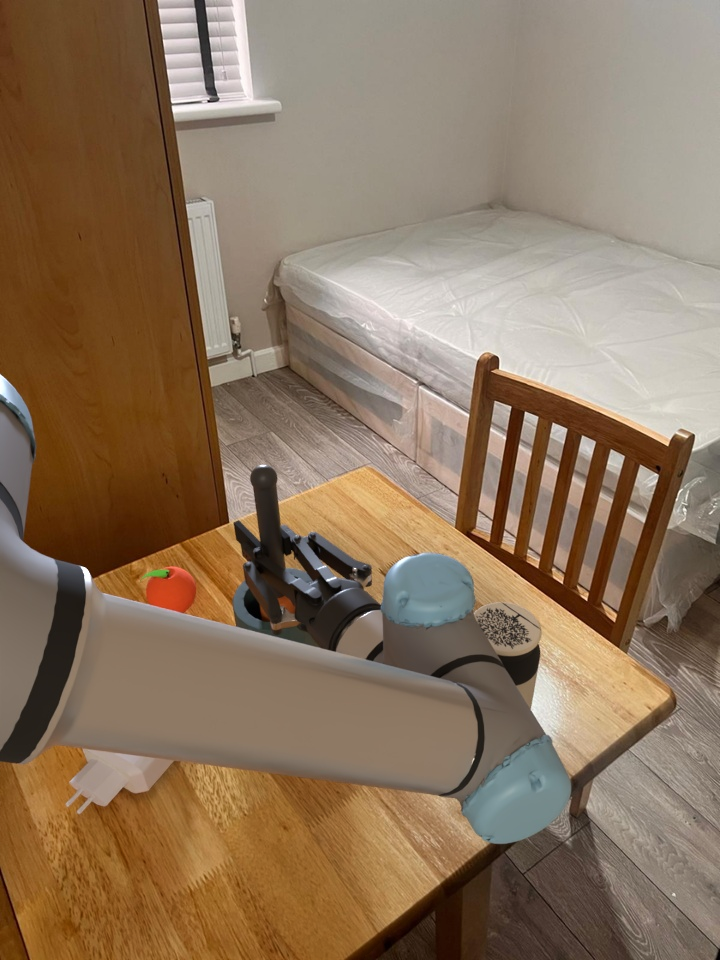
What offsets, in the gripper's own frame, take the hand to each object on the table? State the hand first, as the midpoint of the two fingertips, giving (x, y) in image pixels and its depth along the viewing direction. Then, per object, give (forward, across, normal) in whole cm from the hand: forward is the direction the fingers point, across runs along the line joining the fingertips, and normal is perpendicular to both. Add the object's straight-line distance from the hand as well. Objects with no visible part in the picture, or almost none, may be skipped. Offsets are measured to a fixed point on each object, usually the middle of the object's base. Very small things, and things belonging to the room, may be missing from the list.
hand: (249, 524), depth 90 cm
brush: (-5, 0, -14) cm, 15 cm away
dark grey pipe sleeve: (-5, 0, -19) cm, 20 cm away
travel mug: (-30, +14, -19) cm, 39 cm away
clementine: (+12, -8, -19) cm, 24 cm away
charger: (-9, -23, -19) cm, 31 cm away
